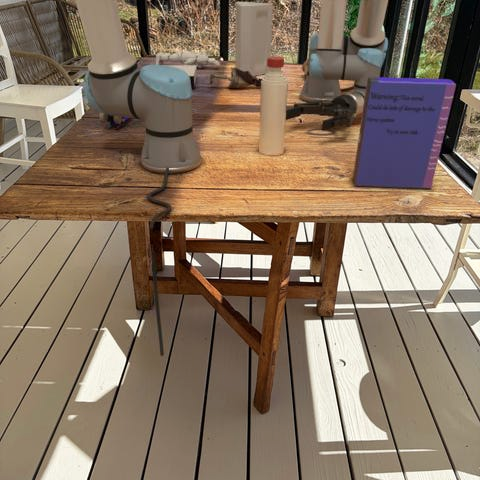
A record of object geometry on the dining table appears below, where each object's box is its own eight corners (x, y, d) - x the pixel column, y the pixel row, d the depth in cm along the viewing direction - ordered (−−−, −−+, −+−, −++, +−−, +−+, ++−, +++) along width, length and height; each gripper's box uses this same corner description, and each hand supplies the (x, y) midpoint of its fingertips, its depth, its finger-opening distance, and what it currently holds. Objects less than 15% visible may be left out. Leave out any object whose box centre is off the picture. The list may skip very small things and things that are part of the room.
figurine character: (122, 135, 144) (137, 116, 156) (118, 111, 140) (134, 93, 152) (101, 134, 145) (117, 115, 157) (96, 110, 140) (113, 92, 152)
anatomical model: (311, 83, 216) (311, 84, 202) (297, 70, 215) (296, 69, 201) (331, 61, 212) (332, 60, 198) (317, 47, 211) (317, 45, 197)
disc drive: (149, 89, 188) (148, 76, 186) (157, 76, 207) (156, 64, 205) (194, 89, 189) (193, 76, 186) (197, 76, 208) (197, 64, 205)
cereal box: (425, 180, 115) (449, 78, 103) (430, 188, 111) (456, 83, 99) (352, 177, 116) (367, 76, 104) (355, 186, 112) (371, 81, 100)
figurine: (210, 87, 179) (288, 95, 182) (212, 65, 176) (291, 73, 180) (208, 84, 201) (278, 91, 205) (210, 64, 198) (280, 71, 202)
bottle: (287, 149, 133) (293, 58, 121) (277, 157, 128) (282, 63, 115) (265, 144, 136) (269, 56, 123) (254, 152, 131) (257, 60, 118)
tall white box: (273, 76, 210) (276, 6, 196) (239, 77, 209) (240, 6, 194) (266, 67, 226) (268, 2, 212) (235, 67, 225) (235, 1, 210)
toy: (175, 75, 210) (174, 58, 206) (151, 64, 228) (150, 49, 224) (222, 69, 222) (222, 53, 218) (195, 59, 239) (195, 45, 236)
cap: (286, 65, 121) (286, 57, 120) (279, 68, 118) (279, 60, 117) (271, 63, 123) (271, 55, 122) (264, 66, 119) (264, 58, 118)
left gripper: (234, -74, 135) (233, 9, 146) (145, -77, 133) (150, 7, 144) (236, -76, 129) (235, 11, 139) (143, -79, 127) (149, 9, 137)
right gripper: (380, 127, 143) (338, 144, 130) (313, 110, 158) (270, 123, 145) (384, 102, 139) (342, 117, 126) (315, 86, 154) (271, 98, 141)
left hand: (192, 9), depth 142 cm, fingers open, 13 cm apart
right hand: (303, 120), depth 135 cm, fingers open, 13 cm apart
